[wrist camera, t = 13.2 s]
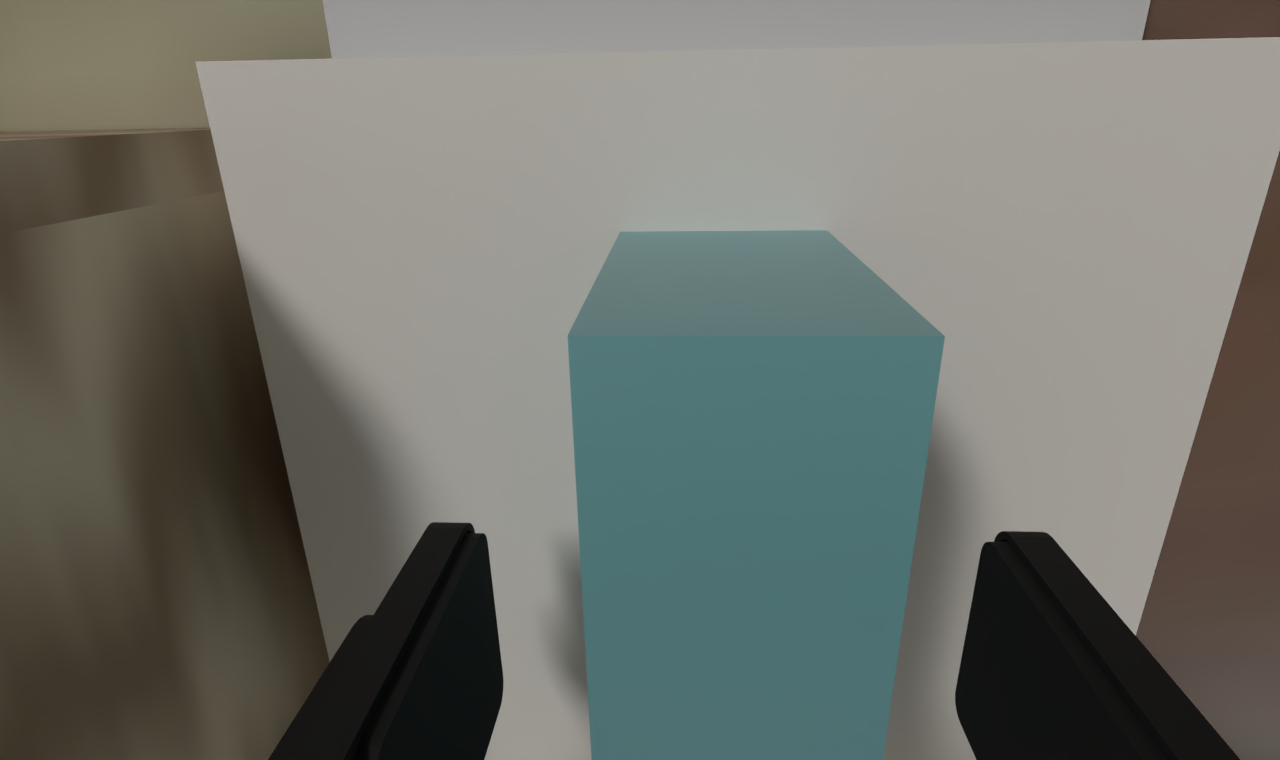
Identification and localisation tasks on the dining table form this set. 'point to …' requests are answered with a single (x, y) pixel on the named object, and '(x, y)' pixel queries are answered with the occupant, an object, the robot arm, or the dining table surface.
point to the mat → (711, 24)
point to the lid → (741, 353)
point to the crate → (139, 465)
